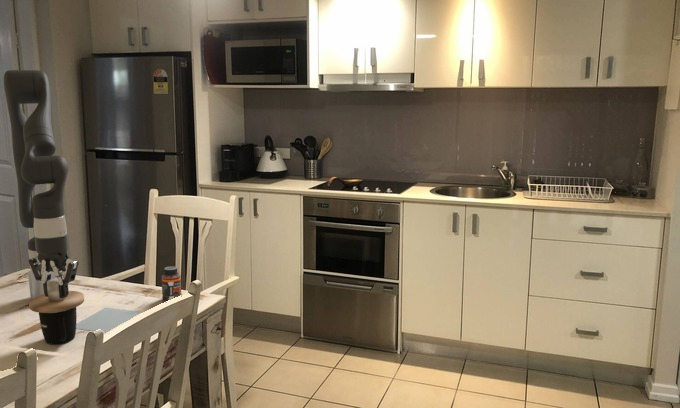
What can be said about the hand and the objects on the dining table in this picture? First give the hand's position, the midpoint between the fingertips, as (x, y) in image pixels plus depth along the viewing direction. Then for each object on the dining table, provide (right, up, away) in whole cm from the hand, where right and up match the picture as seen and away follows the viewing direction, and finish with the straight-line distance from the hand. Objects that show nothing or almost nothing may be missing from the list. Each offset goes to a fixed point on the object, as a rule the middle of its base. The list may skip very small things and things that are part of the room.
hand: (56, 296), depth 149 cm
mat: (+8, -10, +17) cm, 21 cm away
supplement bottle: (+20, -7, +34) cm, 40 cm away
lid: (0, -2, 0) cm, 2 cm away
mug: (0, -13, +3) cm, 14 cm away
